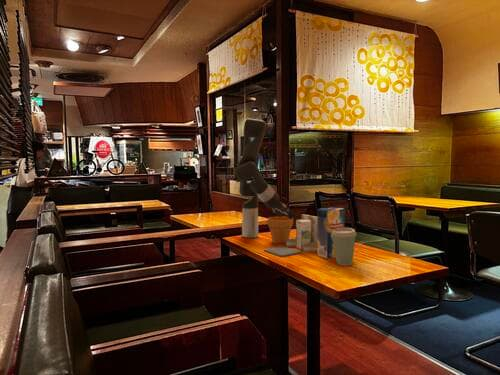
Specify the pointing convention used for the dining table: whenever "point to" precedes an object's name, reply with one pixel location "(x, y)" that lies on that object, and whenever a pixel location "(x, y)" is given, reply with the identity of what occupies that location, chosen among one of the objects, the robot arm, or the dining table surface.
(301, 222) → the syrup box
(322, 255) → the beverage box
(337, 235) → the disposable coffee cup
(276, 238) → the flower pot
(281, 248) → the mat
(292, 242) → the cubby
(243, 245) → the dining table surface
